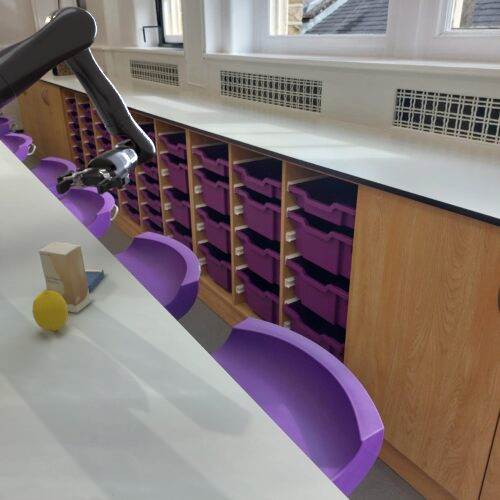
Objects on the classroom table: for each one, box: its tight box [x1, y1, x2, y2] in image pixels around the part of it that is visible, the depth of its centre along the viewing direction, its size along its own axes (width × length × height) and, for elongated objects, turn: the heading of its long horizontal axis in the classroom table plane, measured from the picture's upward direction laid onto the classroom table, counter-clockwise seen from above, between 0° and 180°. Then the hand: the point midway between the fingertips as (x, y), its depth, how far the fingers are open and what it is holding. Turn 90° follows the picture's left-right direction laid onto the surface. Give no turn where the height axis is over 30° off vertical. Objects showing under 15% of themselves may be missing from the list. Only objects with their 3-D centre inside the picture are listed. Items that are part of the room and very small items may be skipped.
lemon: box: [32, 289, 69, 332], centre depth 83 cm, size 6×6×8 cm
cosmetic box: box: [38, 241, 92, 314], centre depth 90 cm, size 6×4×12 cm
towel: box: [85, 268, 105, 293], centre depth 101 cm, size 9×7×2 cm
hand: (78, 190), depth 98 cm, fingers open, 8 cm apart
